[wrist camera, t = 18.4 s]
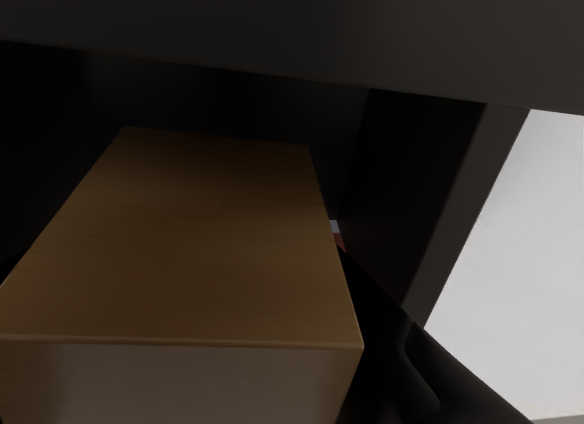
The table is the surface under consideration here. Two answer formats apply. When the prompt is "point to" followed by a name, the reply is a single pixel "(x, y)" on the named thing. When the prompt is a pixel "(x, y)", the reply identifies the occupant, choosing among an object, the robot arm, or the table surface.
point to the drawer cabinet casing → (339, 41)
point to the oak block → (182, 292)
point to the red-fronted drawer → (270, 127)
